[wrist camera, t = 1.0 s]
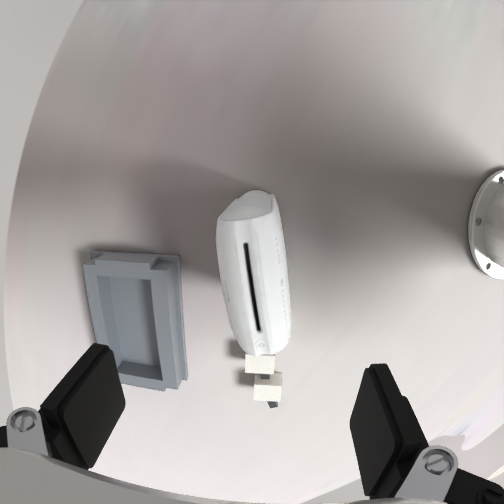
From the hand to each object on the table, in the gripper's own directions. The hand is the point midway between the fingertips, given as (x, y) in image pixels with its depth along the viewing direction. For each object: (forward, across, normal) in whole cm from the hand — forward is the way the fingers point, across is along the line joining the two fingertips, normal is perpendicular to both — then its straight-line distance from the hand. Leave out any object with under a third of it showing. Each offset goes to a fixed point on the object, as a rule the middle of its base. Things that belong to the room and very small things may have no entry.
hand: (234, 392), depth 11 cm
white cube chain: (+20, -1, +13) cm, 24 cm away
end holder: (+20, +13, +9) cm, 26 cm away
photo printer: (+21, 0, 0) cm, 21 cm away
